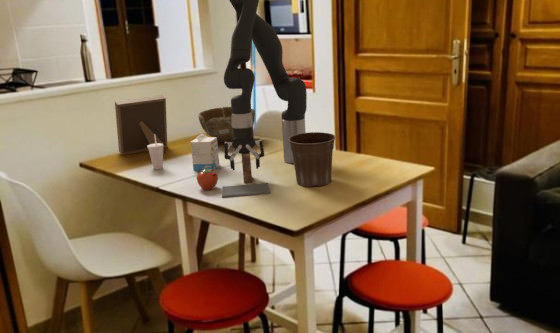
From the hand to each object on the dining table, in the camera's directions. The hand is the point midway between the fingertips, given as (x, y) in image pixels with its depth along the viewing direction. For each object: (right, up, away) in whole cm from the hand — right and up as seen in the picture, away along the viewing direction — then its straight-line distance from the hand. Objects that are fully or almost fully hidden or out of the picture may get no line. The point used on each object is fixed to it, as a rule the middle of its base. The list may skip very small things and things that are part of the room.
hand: (245, 169), depth 189 cm
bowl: (-12, +13, +62) cm, 64 cm away
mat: (+1, -7, -11) cm, 13 cm away
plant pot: (+24, -5, -6) cm, 26 cm away
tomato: (-13, -7, -6) cm, 16 cm away
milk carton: (-17, 0, +20) cm, 26 cm away
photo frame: (-49, +7, +51) cm, 71 cm away
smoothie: (-37, 0, +24) cm, 44 cm away
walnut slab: (+1, -4, +1) cm, 4 cm away
